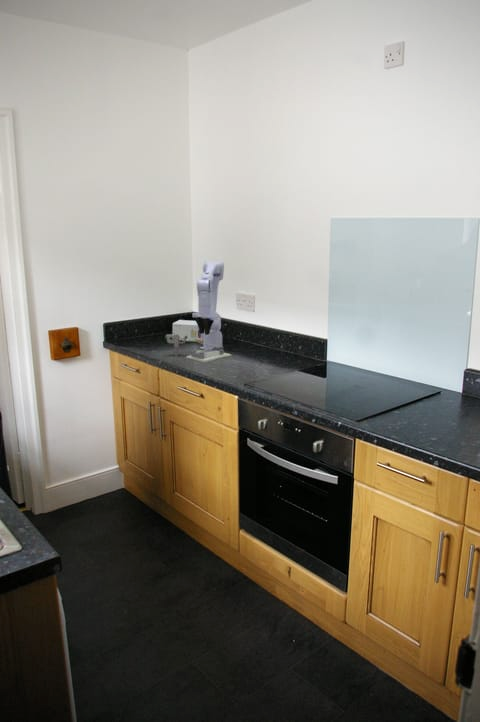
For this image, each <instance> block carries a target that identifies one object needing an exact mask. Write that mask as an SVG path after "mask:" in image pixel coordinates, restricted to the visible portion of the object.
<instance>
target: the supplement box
mask: <svg viewBox="0 0 480 722" xmlns="http://www.w3.org/2000/svg"><path fill="white" fill-rule="evenodd" d="M172 334H178V335H179V336H180V338H183V337H184V335H186V336H187V339H186V341H185V342H195V341H196V340H201V341H203V333H202V334H200V331H199V327H198V325H197V323H196V321H195V320H185V319H178V320H177V321H174V322H173V323H172ZM181 342H184V340H182V341H181Z"/></svg>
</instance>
